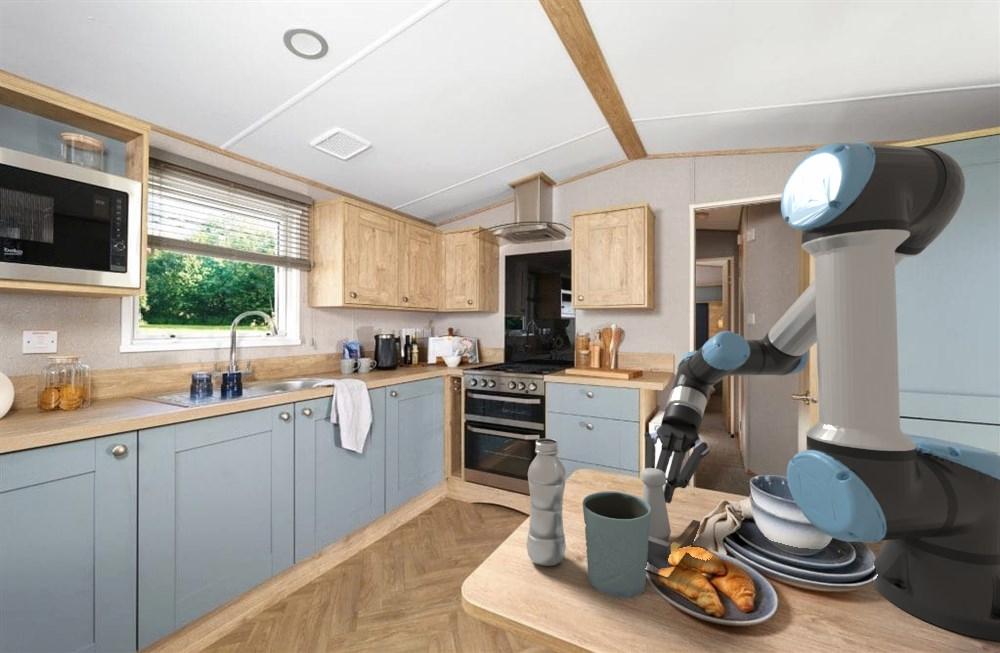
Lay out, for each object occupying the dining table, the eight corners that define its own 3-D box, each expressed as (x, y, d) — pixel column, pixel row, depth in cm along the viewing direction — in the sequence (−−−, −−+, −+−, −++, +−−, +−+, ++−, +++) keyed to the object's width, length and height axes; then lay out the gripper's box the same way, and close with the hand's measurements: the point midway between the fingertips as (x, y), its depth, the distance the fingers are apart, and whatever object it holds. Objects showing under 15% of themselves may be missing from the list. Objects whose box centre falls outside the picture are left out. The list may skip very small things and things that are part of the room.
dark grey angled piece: (700, 534, 79) (700, 508, 79) (667, 578, 65) (667, 546, 65) (640, 516, 86) (640, 492, 86) (600, 552, 73) (600, 523, 73)
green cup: (650, 570, 68) (651, 495, 68) (650, 610, 58) (651, 523, 58) (587, 557, 71) (587, 487, 71) (577, 594, 62) (577, 512, 62)
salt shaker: (664, 533, 79) (665, 465, 79) (675, 550, 74) (675, 476, 73) (633, 532, 80) (633, 464, 80) (641, 548, 74) (641, 475, 74)
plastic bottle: (518, 560, 70) (518, 441, 70) (545, 545, 75) (545, 434, 75) (547, 577, 66) (547, 449, 65) (574, 560, 70) (574, 441, 70)
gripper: (720, 427, 89) (695, 536, 77) (658, 418, 98) (627, 514, 85) (713, 406, 85) (686, 517, 73) (649, 398, 94) (616, 497, 81)
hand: (654, 515), depth 79 cm, fingers closed
